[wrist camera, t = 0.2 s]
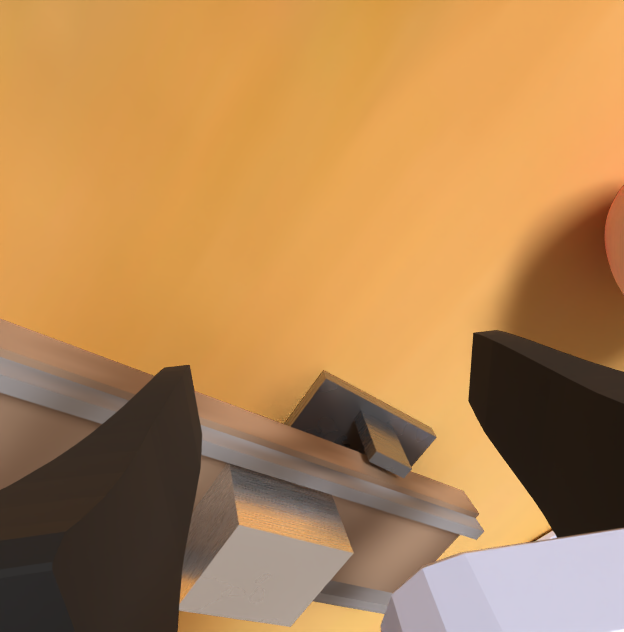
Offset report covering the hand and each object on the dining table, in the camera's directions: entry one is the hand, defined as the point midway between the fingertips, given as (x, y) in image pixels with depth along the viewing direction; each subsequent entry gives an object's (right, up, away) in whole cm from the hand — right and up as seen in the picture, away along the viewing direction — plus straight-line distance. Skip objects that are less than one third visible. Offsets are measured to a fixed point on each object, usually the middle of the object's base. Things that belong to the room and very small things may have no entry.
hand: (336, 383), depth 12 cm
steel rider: (-3, -7, +8) cm, 11 cm away
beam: (-4, -6, +9) cm, 11 cm away
